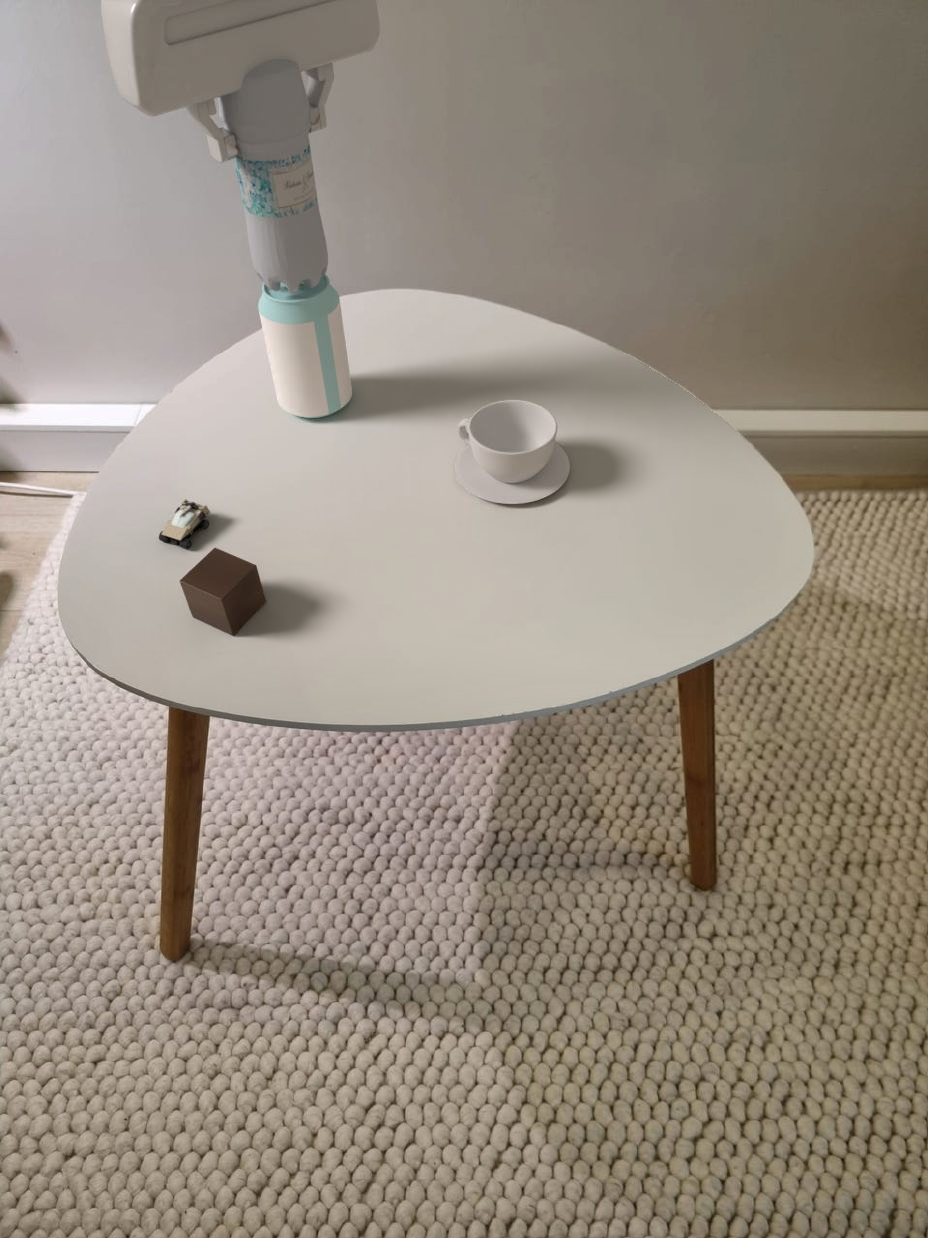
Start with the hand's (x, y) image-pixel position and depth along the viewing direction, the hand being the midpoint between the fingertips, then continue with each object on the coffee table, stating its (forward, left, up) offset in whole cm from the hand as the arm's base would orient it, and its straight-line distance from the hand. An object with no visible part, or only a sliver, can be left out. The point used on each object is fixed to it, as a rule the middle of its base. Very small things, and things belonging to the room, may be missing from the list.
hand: (269, 143), depth 72 cm
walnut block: (-20, -18, -24) cm, 36 cm away
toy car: (-18, -8, -24) cm, 31 cm away
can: (0, 0, -24) cm, 24 cm away
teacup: (+7, -20, -24) cm, 32 cm away
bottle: (0, 0, -11) cm, 11 cm away
